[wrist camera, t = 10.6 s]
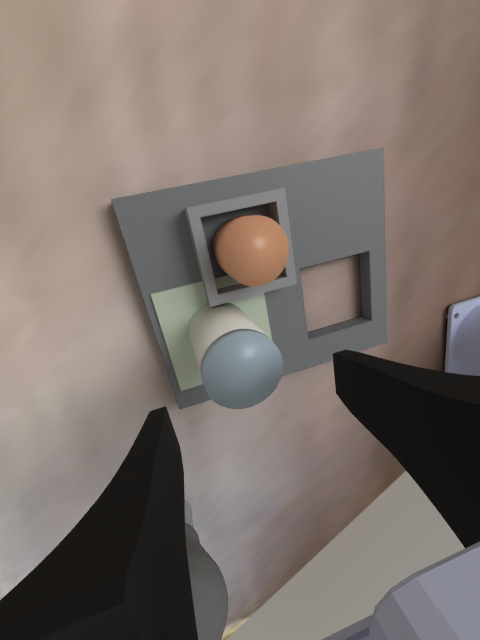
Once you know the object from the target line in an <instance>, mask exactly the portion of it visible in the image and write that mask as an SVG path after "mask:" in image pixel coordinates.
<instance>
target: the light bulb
mask: <svg viewBox="0 0 480 640" xmlns="http://www.w3.org/2000/svg"><path fill="white" fill-rule="evenodd" d="M184 503H185V535H186V548H187V556H188V565H189V573H190V581H191V589H192V597H193V604H194V612H195V619H196V626H197V634H198V640H221V638H222V635H223V631H224V628H225V625H226V620H227V612H228V594H227V589H226V585H225V581H224V578H223V575H222V573H221V571H220V569H219V567H218V565H217V564H216V562H215V561H214V560H213V559H212V558H211V556H210V555H209V554H208V553H207V552H206V551H205V550H204V548H203V547H202V546H201V544H200V541H199V537H198V534H197V532H196V531H195V529H194V528H193V522H192V513H191V507H190V505H189V504H188V503H186V502H184Z"/></svg>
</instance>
